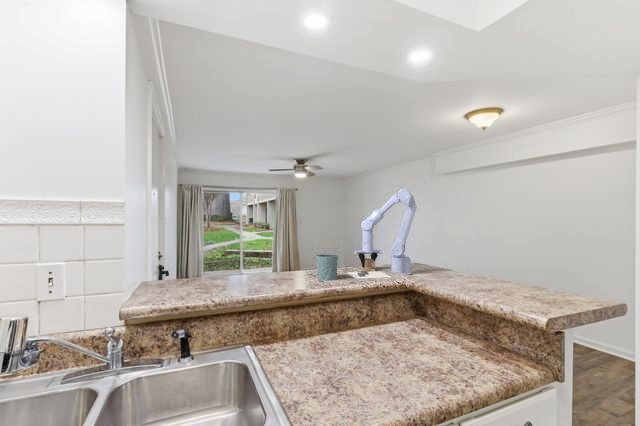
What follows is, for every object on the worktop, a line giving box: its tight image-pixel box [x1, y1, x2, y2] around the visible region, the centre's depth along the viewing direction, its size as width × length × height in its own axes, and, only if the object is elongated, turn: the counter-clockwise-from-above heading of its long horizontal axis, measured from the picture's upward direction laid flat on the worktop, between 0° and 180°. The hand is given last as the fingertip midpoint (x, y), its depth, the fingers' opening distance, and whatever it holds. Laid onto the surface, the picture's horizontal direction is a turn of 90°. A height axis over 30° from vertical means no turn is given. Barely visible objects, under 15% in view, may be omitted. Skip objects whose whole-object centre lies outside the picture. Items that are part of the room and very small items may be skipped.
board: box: [346, 270, 392, 280], centre depth 146 cm, size 18×16×1 cm
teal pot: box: [315, 253, 339, 284], centre depth 137 cm, size 10×10×12 cm
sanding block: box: [360, 257, 376, 272], centre depth 161 cm, size 4×10×6 cm, turn 9°
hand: (367, 267), depth 161 cm, fingers closed on sanding block, 4 cm apart
